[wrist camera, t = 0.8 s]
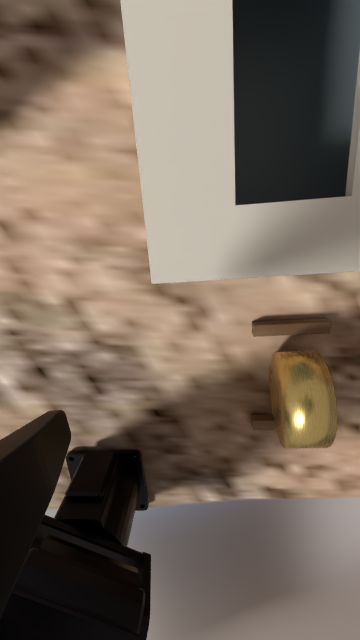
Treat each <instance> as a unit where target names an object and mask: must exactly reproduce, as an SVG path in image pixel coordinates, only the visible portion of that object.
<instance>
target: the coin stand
mask: <svg viewBox="0 0 360 640" xmlns="http://www.w3.org/2000/svg"><path fill="white" fill-rule="evenodd" d="M330 327H331V322H330V321H329V320H328V319H327V318H315V319H294V320H274V321H253V322H252V333H253V336H254V337H255V336H278V335H301V334H324V333H330ZM252 426H253V430H260V429H276V428H275V423H274V418H273V414H252Z"/></svg>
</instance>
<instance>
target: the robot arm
mask: <svg viewBox="0 0 360 640" xmlns="http://www.w3.org/2000/svg"><path fill="white" fill-rule="evenodd" d="M70 441H71V431H70V428H69V424H68V421H67V417H66V414H65V412H64V411H62V410H54V411H48V412H47V413H45V414H43V415H41V416H40V417H38V418H36V419H35V420H33V421H31V422H30V423H28V424H26V425H25V426H23V427H21V428H20V429H18V430H16V431H15V432H13V433H11V434H10V435H8V436H6V437H5V438H3V439H1V440H0V640H146V638H147V632H148V626H149V619H150V580H151V555H150V554H148V553H145V552H143V553H141V552H139V551H136V550H134V549H131V548H128V547H127V544H128V540H129V536H130V531H131V526H132V522H133V518H134V513H135V510H142V511H143V510H147V508H148V504H149V501H148V495H147V488H146V482H145V475H144V468H143V462H142V455H141V453H140V452H139V451H136V450H117V451H70V452H69V453H68V454H67V451H68V447H69V444H70ZM66 454H67V456H66ZM134 456H136V457H134ZM65 457H66V461H67V465H68V469H69V473H70V477H71V482H70V484H69V486H68V489H67V491H66V493H65V497H64V499H63V501H62V503H61V505H60V507H59V509H58V511H57V513H56V515H55V517H54V518H52V517H49V516H47V515H45V512H46V510H47V508H48V505H49V503H50V501H51V498H52V496H53V493H54V491H55V488H56V485H57V482H58V479H59V476H60V473H61V470H62V466H63V463H64V460H65ZM72 457H73V458H72Z"/></svg>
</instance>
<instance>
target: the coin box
mask: <svg viewBox="0 0 360 640" xmlns="http://www.w3.org/2000/svg"><path fill="white" fill-rule="evenodd" d="M120 2H121V11H122V20H123V29H124V38H125V47H126V56H127V65H128V74H129V83H130V92H131V101H132V110H133V119H134V128H135V137H136V146H137V155H138V164H139V173H140V182H141V191H142V200H143V209H144V218H145V227H146V236H147V245H148V254H149V263H150V272H151V281H152V284H156V283H173V282H189V281H206V280H222V279H239V278H255V277H272V276H288V275H305V274H321V273H337V272H354V271H360V0H120Z"/></svg>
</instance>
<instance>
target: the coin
mask: <svg viewBox="0 0 360 640" xmlns="http://www.w3.org/2000/svg"><path fill="white" fill-rule="evenodd" d="M270 397H271V406H272V413H273V418H274V423H275V428H276V431H277V435H278V438H279V440H280V442H281V444H282V446H283V447H284V448H328V447H330V446H331V445H332V443H333V441H334V439H335V435H336V430H337V405H336V397H335V391H334V386H333V382H332V378H331V375H330V372H329V369H328V367H327V365H326V363H325V361H324V359H323V358H322V356H321V355H320V354H319V353H318V352H316V351H294V352H275V353H274V354H273V356H272V359H271V364H270Z"/></svg>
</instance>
